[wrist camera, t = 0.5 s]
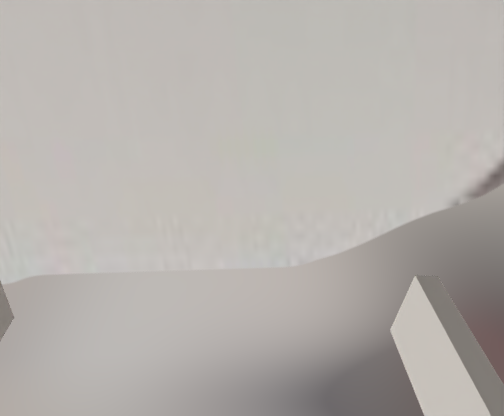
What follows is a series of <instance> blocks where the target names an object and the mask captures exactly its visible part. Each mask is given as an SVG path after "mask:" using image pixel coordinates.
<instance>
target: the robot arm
mask: <svg viewBox="0 0 504 416" xmlns="http://www.w3.org/2000/svg"><path fill="white" fill-rule="evenodd" d="M13 319H14V316H13V313H12V311H11V308H10V305H9V303H8V300H7V297H6V295H5V292H4V289H3V287H2V284H1V281H0V341H1V339H2V337H3V336H4V334H5V332H6V330H7V329H8V327H9V325H10V324H11V322H12V320H13ZM390 331H391V333H392V336H393V338H394V341H395V343H396V346H397V348H398V351H399V353H400V356H401V358H402V361H403V363H404V366H405V368H406V371H407V373H408V376H409V378H410V381H411V384H412V386H413V389H414V391H415V394H416V396H417V398H418V401H419V403H420V406H421V409H422V411H423V414H424V416H504V385H503V383H502V382H501V380H500V378H499V377H498V375H497V373H496V372H495V370H494V368H493V367H492V365H491V363H490V362H489V360H488V358H487V357H486V355H485V353H484V352H483V351H482V349H481V347H480V345H479V344H478V342H477V340H476V339H475V337H474V335H473V334H472V332H471V330H470V329H469V327H468V325H467V324H466V322H465V321H464V319H463V317H462V316H461V314H460V312H459V311H458V309H457V307H456V306H455V304H454V302H453V301H452V299H451V297H450V296H449V295H448V293H447V291H446V289H445V288H444V286H443V285H442V283H441V281H440V279H439V278H438V277H437V276H419V275H415V277H414V279H413V281H412V283H411V286H410V288H409V290H408V292H407V294H406V297H405V299H404V301H403V304H402V306H401V308H400V310H399V312H398V314H397V316H396V319H395V321H394V323H393V325H392V327H391V329H390Z"/></svg>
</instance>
